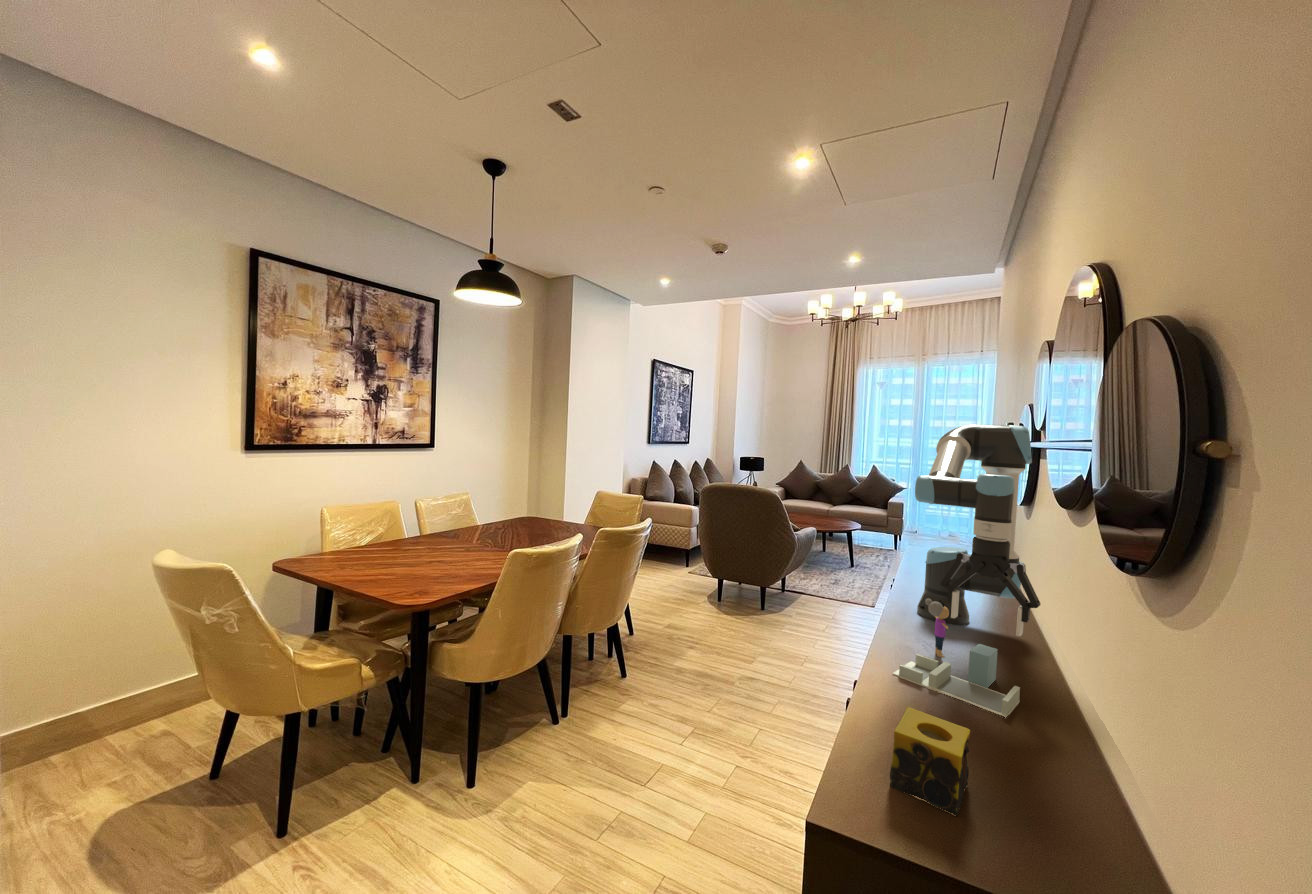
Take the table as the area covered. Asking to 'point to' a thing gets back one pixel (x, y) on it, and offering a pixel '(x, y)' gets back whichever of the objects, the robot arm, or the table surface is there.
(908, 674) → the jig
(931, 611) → the toy
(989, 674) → the grey-blue block
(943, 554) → the robot arm
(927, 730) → the yellow tissue box
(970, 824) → the table surface
